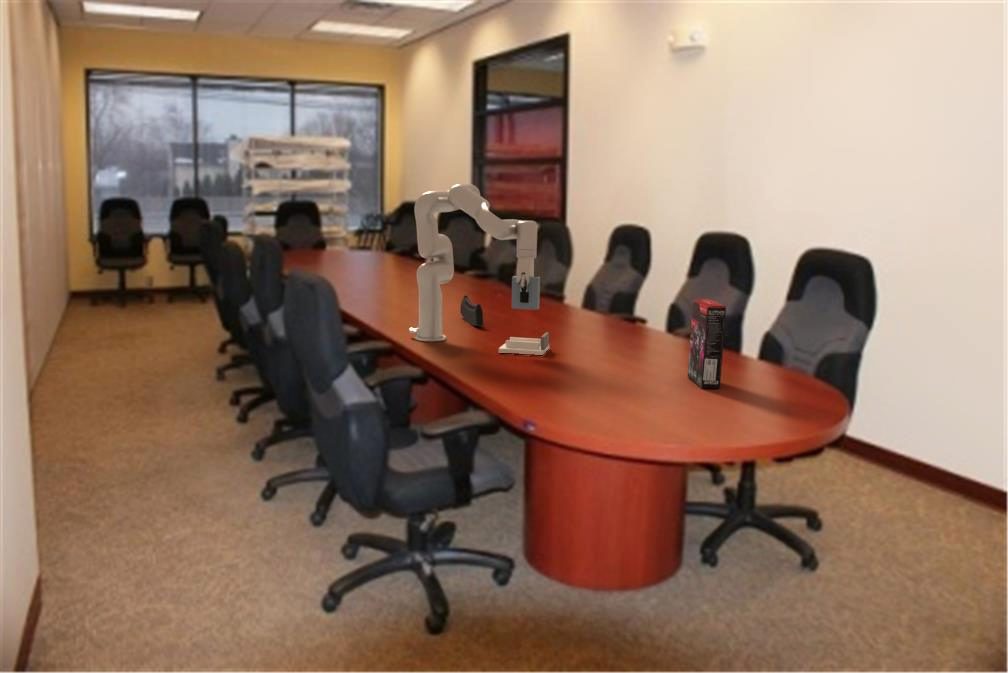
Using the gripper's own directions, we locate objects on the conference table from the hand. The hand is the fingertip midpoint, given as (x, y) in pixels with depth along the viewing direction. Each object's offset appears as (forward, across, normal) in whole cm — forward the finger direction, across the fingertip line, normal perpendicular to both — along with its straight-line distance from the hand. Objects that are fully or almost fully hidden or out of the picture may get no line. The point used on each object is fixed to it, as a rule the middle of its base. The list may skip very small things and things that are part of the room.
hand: (525, 301), depth 339 cm
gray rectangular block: (+3, 0, 0) cm, 3 cm away
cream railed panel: (+20, 0, 0) cm, 20 cm away
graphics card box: (+20, +34, +68) cm, 78 cm away
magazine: (+20, -58, -37) cm, 71 cm away
